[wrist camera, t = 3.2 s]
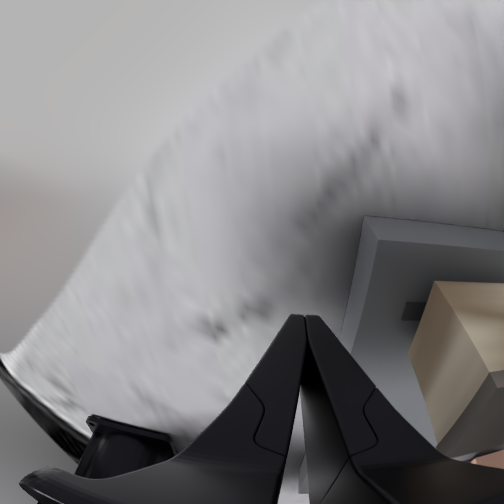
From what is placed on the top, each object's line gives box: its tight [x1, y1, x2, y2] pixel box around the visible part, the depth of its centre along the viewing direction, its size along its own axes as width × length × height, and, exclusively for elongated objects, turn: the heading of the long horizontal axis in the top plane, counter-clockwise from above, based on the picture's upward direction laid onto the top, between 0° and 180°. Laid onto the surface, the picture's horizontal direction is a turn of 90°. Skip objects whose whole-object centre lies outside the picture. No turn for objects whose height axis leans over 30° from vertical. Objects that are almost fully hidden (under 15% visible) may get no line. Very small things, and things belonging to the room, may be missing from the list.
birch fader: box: [408, 281, 504, 458], centre depth 7 cm, size 4×3×4 cm
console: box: [299, 216, 504, 494], centre depth 13 cm, size 18×19×2 cm
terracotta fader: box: [471, 450, 504, 469], centre depth 13 cm, size 4×3×4 cm
